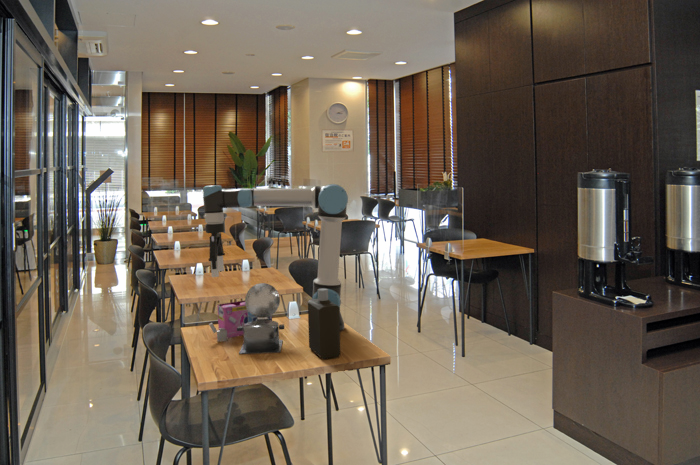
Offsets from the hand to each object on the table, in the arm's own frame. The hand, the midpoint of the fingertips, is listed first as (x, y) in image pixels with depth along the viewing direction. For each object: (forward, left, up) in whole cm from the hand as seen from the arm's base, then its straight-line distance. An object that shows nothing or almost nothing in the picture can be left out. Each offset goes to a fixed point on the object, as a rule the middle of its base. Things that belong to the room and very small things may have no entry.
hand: (218, 274), depth 230 cm
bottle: (-43, +22, -29) cm, 56 cm away
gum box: (-9, -12, -29) cm, 33 cm away
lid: (-18, +2, -12) cm, 22 cm away
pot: (-18, +11, -29) cm, 35 cm away
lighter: (+1, 0, -29) cm, 29 cm away
